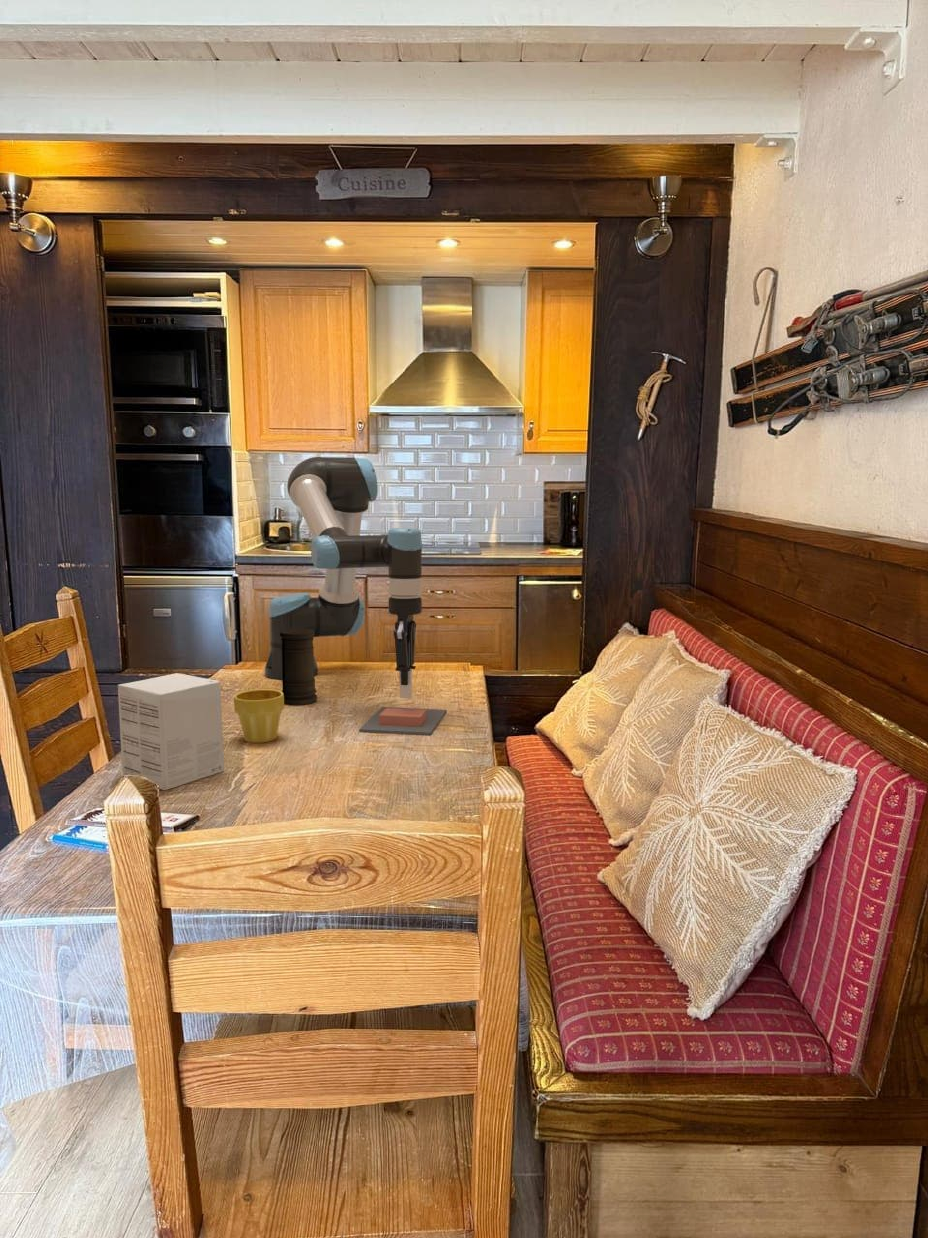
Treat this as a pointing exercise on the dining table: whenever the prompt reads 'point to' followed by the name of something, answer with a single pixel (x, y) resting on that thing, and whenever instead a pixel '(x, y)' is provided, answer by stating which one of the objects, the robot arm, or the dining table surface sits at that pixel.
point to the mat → (426, 728)
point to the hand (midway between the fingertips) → (405, 697)
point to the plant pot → (259, 713)
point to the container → (298, 667)
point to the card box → (402, 717)
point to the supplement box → (171, 729)
